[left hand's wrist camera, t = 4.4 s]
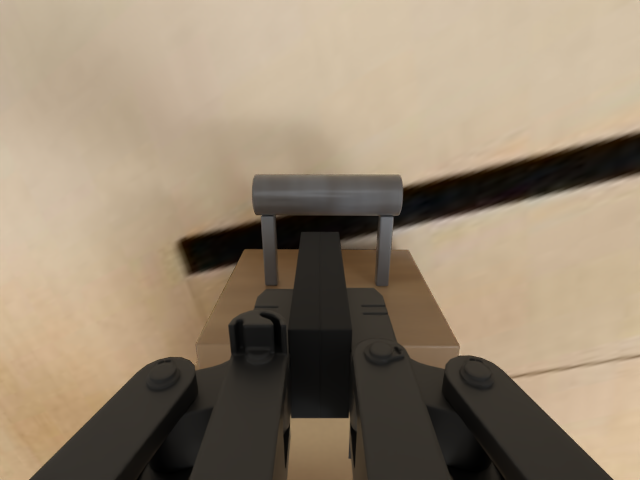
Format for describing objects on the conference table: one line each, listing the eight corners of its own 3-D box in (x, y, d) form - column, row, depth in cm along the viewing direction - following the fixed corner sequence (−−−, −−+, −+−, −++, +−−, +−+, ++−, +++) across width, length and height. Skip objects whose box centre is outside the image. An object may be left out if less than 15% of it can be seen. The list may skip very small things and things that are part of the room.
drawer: (236, 158, 20) (172, 205, 11) (417, 158, 20) (485, 206, 11) (263, 483, 29) (239, 637, 21) (385, 485, 29) (409, 640, 21)
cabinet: (240, 269, 23) (175, 404, 13) (412, 270, 23) (480, 407, 13) (260, 497, 32) (230, 690, 21) (388, 499, 31) (418, 693, 21)
